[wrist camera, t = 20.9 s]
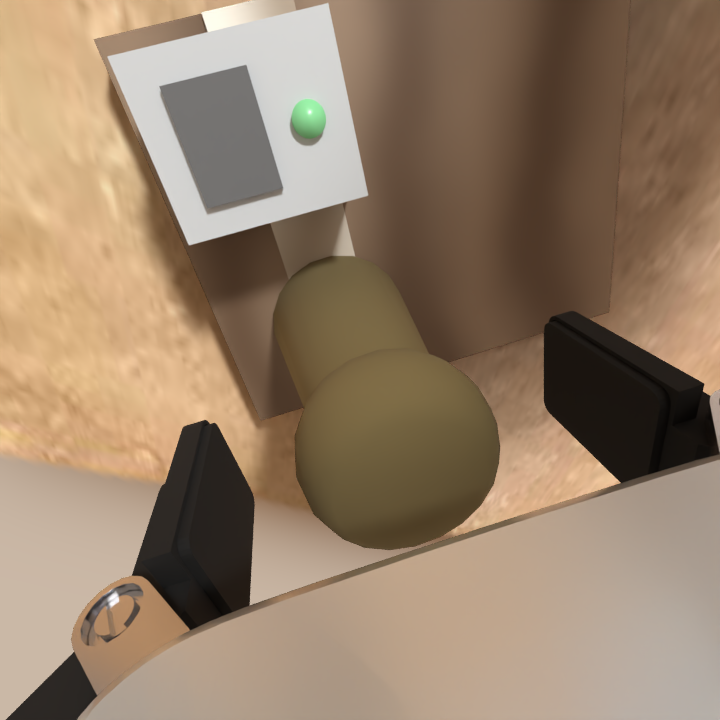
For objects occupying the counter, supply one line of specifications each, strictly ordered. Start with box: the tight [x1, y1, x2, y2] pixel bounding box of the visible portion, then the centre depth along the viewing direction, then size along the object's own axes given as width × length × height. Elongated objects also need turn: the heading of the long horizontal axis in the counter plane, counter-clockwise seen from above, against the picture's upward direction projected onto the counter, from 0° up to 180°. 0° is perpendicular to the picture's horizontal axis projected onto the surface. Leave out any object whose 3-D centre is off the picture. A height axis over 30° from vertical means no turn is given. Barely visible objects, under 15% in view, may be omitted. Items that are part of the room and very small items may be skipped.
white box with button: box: [107, 3, 368, 245], centre depth 13 cm, size 6×5×3 cm
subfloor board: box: [94, 0, 631, 420], centre depth 18 cm, size 19×16×2 cm
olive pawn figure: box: [273, 256, 500, 550], centre depth 14 cm, size 6×6×11 cm
